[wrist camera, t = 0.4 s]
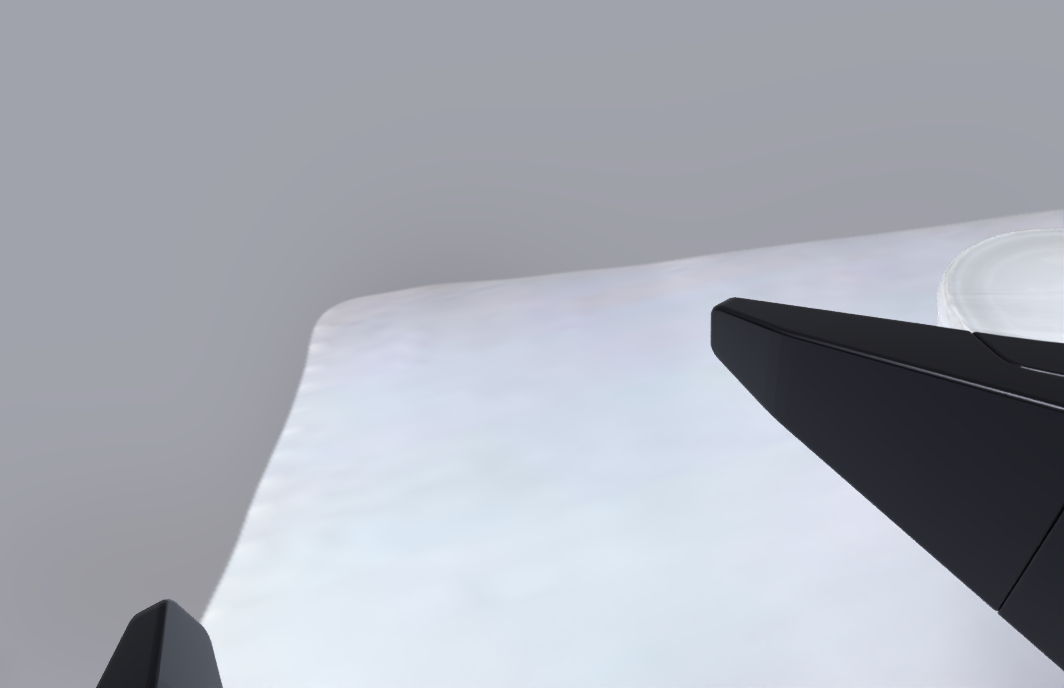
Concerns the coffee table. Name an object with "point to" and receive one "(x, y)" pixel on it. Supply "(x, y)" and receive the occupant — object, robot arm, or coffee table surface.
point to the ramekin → (1007, 286)
